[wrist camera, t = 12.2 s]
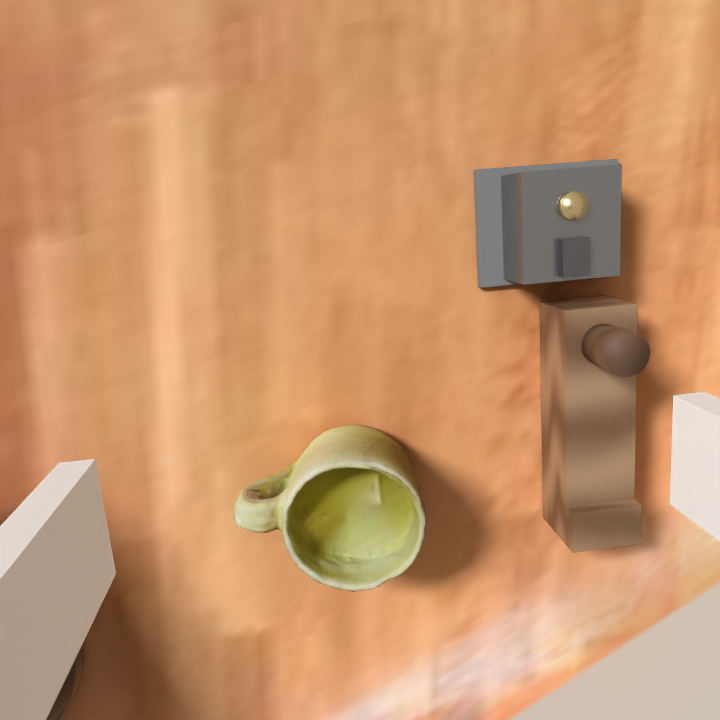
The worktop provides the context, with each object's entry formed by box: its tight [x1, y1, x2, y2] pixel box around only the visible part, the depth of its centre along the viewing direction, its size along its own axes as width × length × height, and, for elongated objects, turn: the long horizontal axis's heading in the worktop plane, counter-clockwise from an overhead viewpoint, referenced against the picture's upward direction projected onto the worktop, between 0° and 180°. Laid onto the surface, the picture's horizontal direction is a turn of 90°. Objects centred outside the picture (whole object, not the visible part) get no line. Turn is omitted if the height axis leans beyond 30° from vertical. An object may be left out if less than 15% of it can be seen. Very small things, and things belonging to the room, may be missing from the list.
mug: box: [234, 425, 426, 592], centre depth 45 cm, size 12×10×10 cm
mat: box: [474, 159, 618, 288], centre depth 46 cm, size 10×8×1 cm
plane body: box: [540, 296, 650, 553], centre depth 45 cm, size 17×5×8 cm, turn 4°
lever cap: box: [501, 164, 622, 285], centre depth 43 cm, size 7×6×5 cm
